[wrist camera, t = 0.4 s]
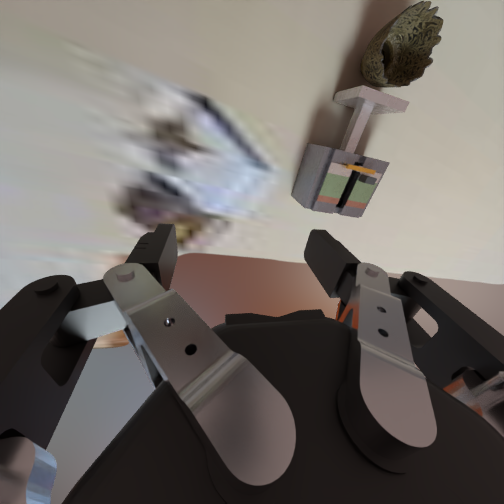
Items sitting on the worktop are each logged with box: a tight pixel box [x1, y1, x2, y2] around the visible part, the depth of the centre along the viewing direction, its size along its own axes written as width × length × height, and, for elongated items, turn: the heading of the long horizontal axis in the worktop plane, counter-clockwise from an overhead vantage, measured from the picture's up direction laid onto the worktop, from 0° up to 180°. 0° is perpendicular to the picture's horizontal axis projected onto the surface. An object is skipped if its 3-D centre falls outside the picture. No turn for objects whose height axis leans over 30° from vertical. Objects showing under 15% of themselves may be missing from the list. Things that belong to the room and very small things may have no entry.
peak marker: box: [359, 174, 377, 185], centre depth 31 cm, size 1×2×2 cm, turn 78°
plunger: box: [333, 85, 409, 175], centre depth 31 cm, size 10×8×9 cm
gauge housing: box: [291, 143, 389, 218], centre depth 36 cm, size 10×12×8 cm
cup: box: [360, 1, 443, 87], centre depth 27 cm, size 8×7×8 cm
